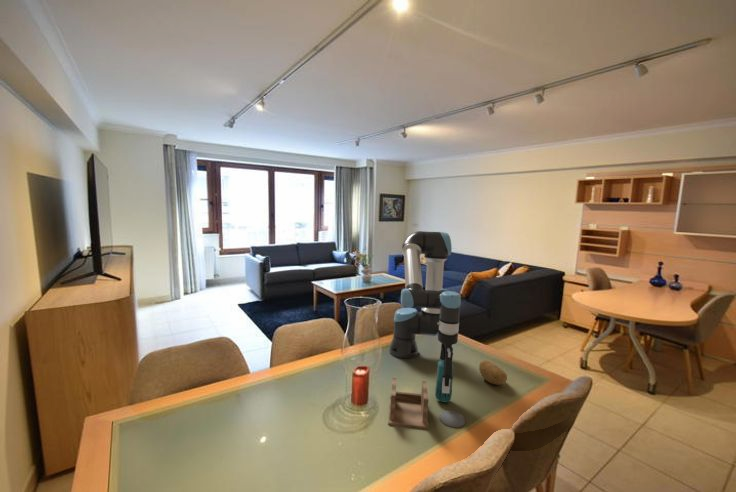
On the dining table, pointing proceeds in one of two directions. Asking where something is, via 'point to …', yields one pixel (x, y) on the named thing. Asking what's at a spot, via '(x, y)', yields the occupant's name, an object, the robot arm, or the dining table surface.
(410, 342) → the robot arm
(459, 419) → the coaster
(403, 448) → the dining table surface
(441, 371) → the beverage bottle
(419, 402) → the holder
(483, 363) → the potato
